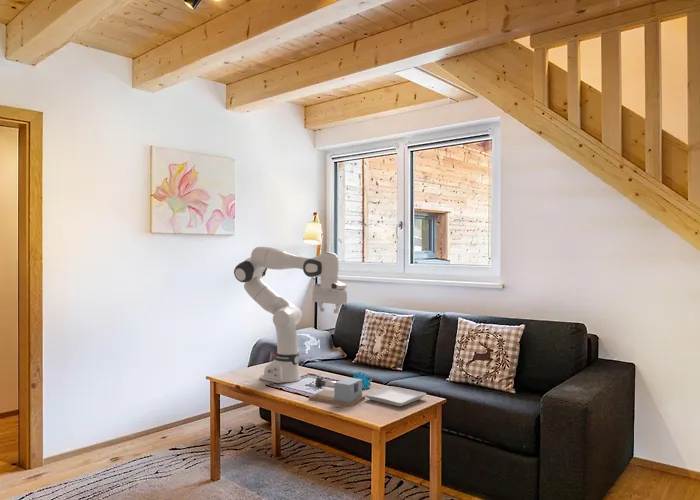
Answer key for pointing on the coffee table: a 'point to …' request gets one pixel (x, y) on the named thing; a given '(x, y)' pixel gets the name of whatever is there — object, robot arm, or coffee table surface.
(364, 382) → the gear
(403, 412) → the coffee table surface
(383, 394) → the salad plate
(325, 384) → the shaft
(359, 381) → the bearing block
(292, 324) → the robot arm
